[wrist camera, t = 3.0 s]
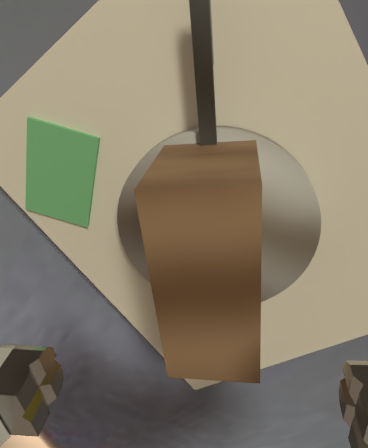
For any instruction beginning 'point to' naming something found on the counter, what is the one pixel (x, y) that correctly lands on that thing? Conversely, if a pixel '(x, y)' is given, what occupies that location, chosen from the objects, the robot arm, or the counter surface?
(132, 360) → the counter surface
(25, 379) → the robot arm
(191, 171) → the brown knob on disc
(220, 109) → the board
